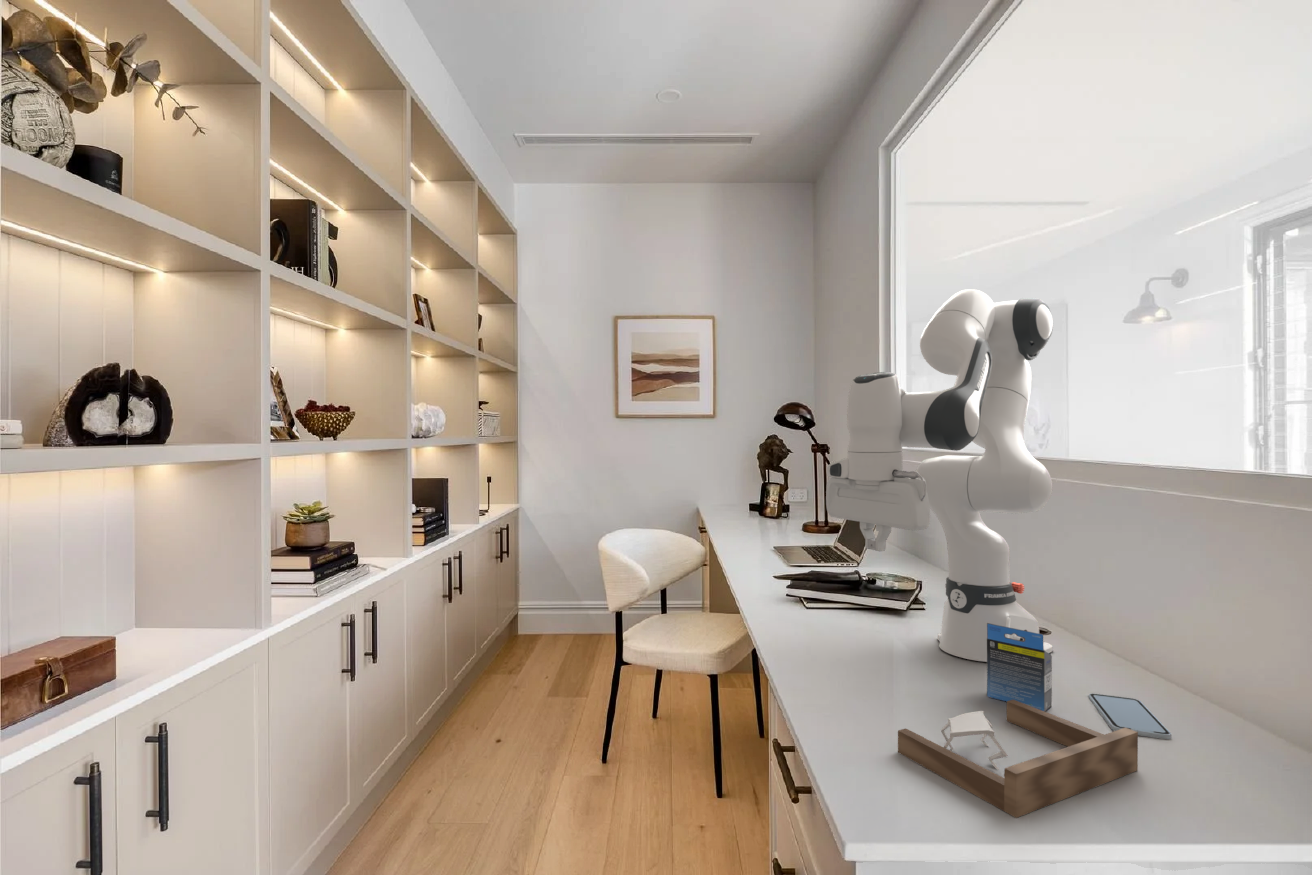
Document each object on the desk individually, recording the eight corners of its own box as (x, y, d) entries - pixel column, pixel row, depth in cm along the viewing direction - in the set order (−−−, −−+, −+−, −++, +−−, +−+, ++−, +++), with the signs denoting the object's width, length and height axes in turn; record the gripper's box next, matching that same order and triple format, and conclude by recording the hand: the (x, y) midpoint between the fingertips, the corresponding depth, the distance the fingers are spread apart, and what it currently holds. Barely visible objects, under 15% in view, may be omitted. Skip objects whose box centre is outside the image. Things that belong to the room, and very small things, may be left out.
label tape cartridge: (1053, 706, 108) (1053, 629, 108) (1044, 713, 105) (1044, 634, 105) (995, 690, 114) (995, 618, 114) (985, 696, 112) (985, 622, 112)
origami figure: (1006, 785, 84) (1006, 745, 84) (934, 767, 88) (934, 730, 88) (1012, 746, 94) (1013, 711, 94) (948, 732, 99) (948, 699, 99)
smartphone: (1139, 698, 110) (1174, 735, 96) (1139, 704, 110) (1173, 742, 96) (1086, 692, 113) (1113, 727, 99) (1086, 698, 113) (1113, 733, 99)
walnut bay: (1013, 719, 103) (1013, 686, 103) (1137, 770, 87) (1137, 732, 87) (897, 752, 92) (897, 715, 92) (1016, 817, 77) (1016, 774, 77)
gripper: (939, 471, 106) (939, 558, 107) (846, 464, 124) (846, 539, 125) (910, 473, 103) (911, 563, 104) (819, 466, 121) (820, 542, 122)
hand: (875, 549), depth 114 cm, fingers closed
